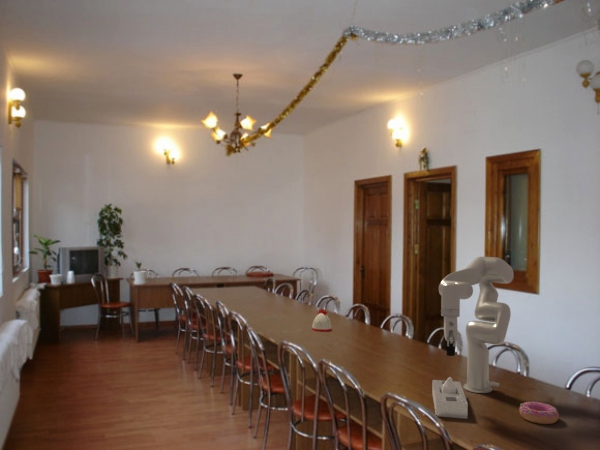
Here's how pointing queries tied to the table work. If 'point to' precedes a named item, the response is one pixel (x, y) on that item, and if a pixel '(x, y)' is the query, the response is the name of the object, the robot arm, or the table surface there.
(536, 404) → the donut
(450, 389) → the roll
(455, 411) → the white block holder
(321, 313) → the cream hat
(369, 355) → the table surface
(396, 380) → the table surface
